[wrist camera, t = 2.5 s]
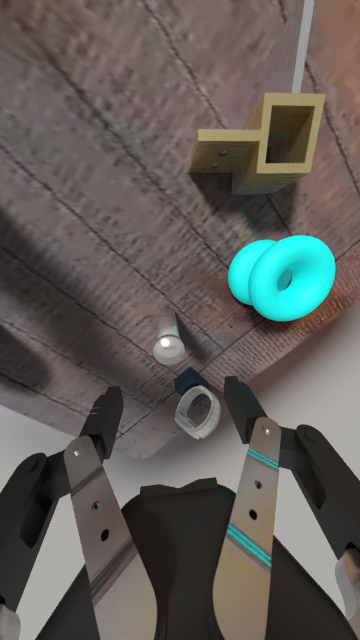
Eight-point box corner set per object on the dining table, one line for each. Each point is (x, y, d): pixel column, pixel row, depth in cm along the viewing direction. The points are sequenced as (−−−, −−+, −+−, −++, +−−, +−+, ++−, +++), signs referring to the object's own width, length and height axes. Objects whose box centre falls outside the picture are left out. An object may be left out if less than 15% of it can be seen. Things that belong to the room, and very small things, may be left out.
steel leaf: (231, 194, 24) (256, 173, 17) (238, 70, 20) (276, -20, 13) (270, 194, 24) (310, 172, 18) (287, 72, 20) (346, -15, 13)
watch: (167, 385, 35) (169, 439, 25) (196, 361, 34) (211, 408, 24) (185, 398, 37) (194, 454, 27) (214, 377, 36) (234, 427, 25)
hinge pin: (158, 324, 30) (154, 365, 19) (156, 305, 29) (151, 338, 18) (177, 322, 30) (185, 363, 19) (176, 304, 29) (184, 336, 18)
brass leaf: (188, 195, 23) (198, 173, 17) (187, 139, 21) (198, 90, 15) (270, 194, 24) (310, 172, 18) (278, 140, 22) (325, 93, 16)
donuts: (280, 221, 17) (360, 249, 18) (238, 232, 26) (294, 250, 28) (242, 315, 20) (313, 331, 22) (217, 295, 29) (268, 308, 31)
